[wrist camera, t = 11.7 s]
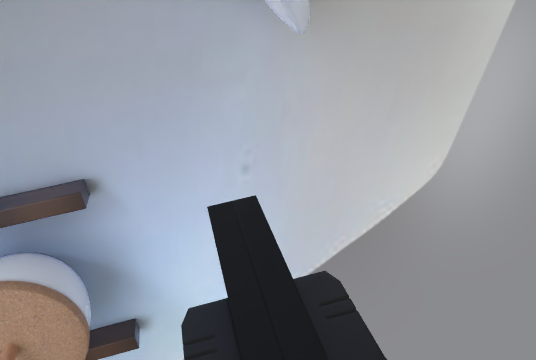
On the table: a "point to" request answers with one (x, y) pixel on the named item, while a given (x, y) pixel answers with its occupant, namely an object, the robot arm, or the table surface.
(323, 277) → the robot arm
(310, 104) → the table surface
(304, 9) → the mug
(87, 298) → the trinket box
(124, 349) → the bay
